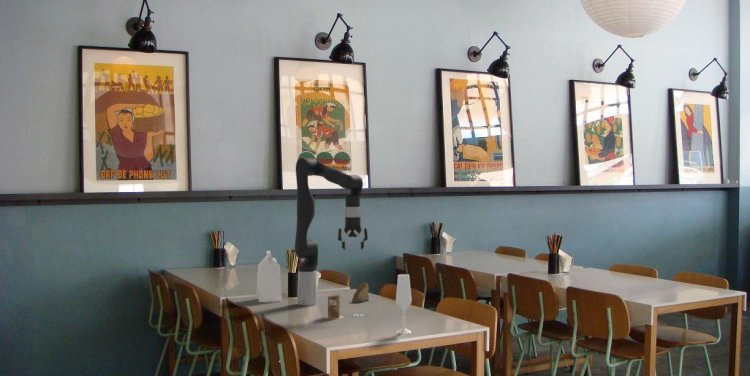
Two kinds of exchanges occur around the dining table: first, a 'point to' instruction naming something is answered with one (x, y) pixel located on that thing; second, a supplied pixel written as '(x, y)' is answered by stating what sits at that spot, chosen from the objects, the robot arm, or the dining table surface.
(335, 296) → the walnut block
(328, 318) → the coaster
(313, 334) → the dining table surface
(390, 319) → the dining table surface
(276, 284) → the milk
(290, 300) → the dining table surface
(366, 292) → the rock
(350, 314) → the blue-gray tile
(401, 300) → the champagne flute
